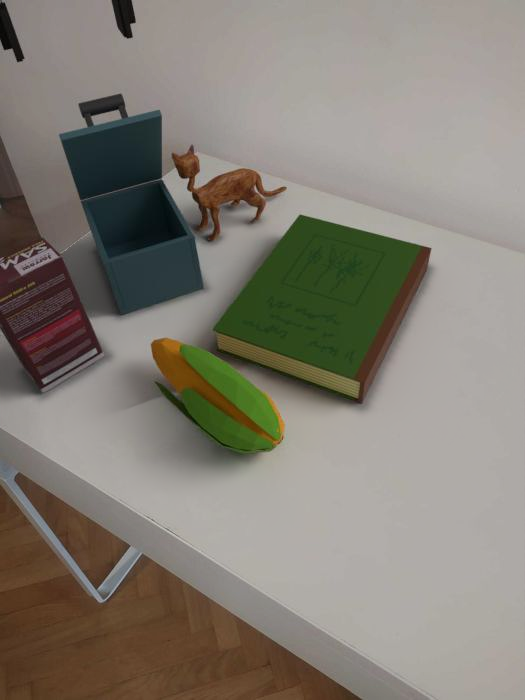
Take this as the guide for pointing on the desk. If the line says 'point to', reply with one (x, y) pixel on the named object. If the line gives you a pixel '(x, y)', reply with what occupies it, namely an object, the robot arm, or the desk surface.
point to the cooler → (144, 245)
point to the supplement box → (45, 315)
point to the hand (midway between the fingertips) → (73, 44)
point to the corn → (218, 398)
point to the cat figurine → (222, 189)
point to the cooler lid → (113, 149)
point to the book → (325, 305)
